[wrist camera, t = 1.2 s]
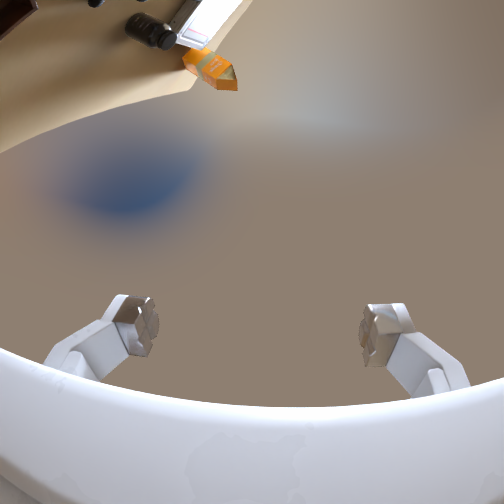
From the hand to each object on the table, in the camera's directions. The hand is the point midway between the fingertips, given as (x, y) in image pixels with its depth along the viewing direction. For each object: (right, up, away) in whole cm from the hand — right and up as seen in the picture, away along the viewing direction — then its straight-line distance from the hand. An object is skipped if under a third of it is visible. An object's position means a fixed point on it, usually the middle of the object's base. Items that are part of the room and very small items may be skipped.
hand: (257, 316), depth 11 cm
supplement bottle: (-27, +54, +36) cm, 71 cm away
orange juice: (-20, +68, +69) cm, 99 cm away
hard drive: (-14, +72, +48) cm, 88 cm away
